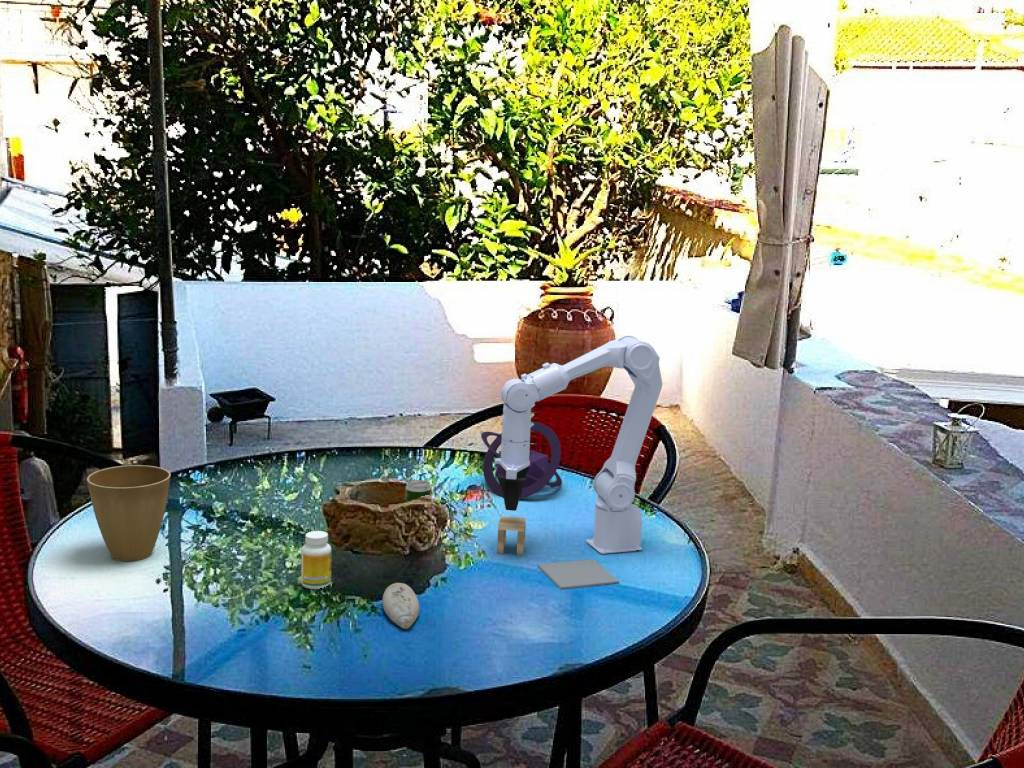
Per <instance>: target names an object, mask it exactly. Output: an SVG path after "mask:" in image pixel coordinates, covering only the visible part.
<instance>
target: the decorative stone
mask: <svg viewBox="0 0 1024 768" xmlns="http://www.w3.org/2000/svg"><path fill="white" fill-rule="evenodd" d="M381 601H382V608H383V610H384V612H385V614H386V615H387V617H388V618H389V620H391V621H392V622H393V623H394V624H395V625H397V626H399V627H400V628H402V629H404V630H405V629H409V628H411V626H412V625H413V624H414V623H415V621H416V620H417V618H418V617H419V612H420V602H419V599H418V597H417V594H416V593H415V591H414V590H413V588H411V587H410V586H409V585H408V584H406V583H403V582H402V583H401V582H394V583H392V584H390V585H389V586H387V587H386V588H385V590H384V593H383V594H382V600H381Z"/></svg>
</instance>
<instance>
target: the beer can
mask: <svg viewBox="0 0 1024 768" xmlns="http://www.w3.org/2000/svg"><path fill="white" fill-rule="evenodd" d="M404 491H405V492H404V493H405V495H404V497H405V499H404V500H406V501H409V500H413V499H417V498H419V497H421V496H425V495H430V496H431V497H432V486H431V482H430V481H427V480H423V479H421V480H420V479H415V480H413V479H412V480H409V481H407V482H406V486H405V490H404Z"/></svg>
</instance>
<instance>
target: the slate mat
mask: <svg viewBox="0 0 1024 768" xmlns="http://www.w3.org/2000/svg"><path fill="white" fill-rule="evenodd" d="M537 567H538V568H539V569H540V570H541V571H542V572H543V573H544V574H545V575H546V576H547V577H548V579H550V580H551V581H552V582H553V583H554V584H555V586H557V587H558V588H559V589H560V590H565V589H577V588H586V587H597V586H607V585H606V584H608V585H615V584H614V583H618V584H620V580H618V579H617V578H616V577H615V576H614V575H613V574H612V573H611V572H609V571H608V570H607V569H606V568H604V567H603V566H602V565H601V564H600V563H598V561H596V560H595V559H584V560H583V559H582V560H571V561H562V562H550V563H537Z"/></svg>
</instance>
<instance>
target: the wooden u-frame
mask: <svg viewBox="0 0 1024 768" xmlns="http://www.w3.org/2000/svg"><path fill="white" fill-rule="evenodd" d="M499 518H500V519H499V521H498V525H497V543H496V544H497V547H496V550H497V552H496V553H497V554H502V555H503V554H504V550H505V549H504V548H505V547H506V543H507V531H508V532H509V531H512V532H517V541H516V555H517V556H523V555H524V549H525V546H526V531H527V529H526V527H527V526H526V525H527V517H520V516H519V517H518V516H505V515H504V516H502V515H501V516H500V517H499Z"/></svg>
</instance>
